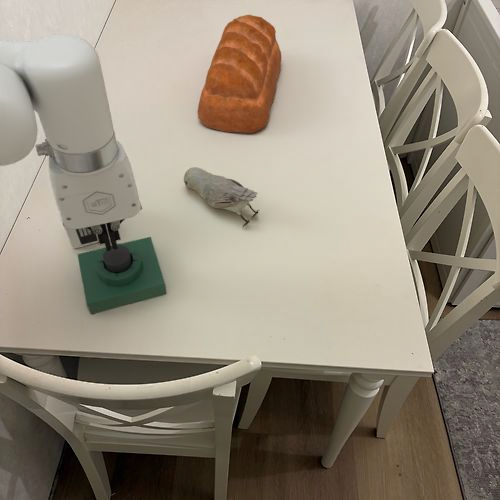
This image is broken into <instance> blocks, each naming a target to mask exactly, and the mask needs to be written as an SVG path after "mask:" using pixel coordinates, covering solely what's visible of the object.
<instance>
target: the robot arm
mask: <svg viewBox="0 0 500 500" xmlns="http://www.w3.org/2000/svg"><path fill="white" fill-rule="evenodd" d="M106 89H107V88H106V84H105V78H104V74H103V70H102V64H101V59H100V57H99V54H98V52H97V50H96V49H95V47H94V46H93V45H92V44H91V42H89V41H88V40H87V39H84V38H82V37H80V36H77V35H73V34H66V33H65V34H64V33H63V34H62V33H60V34H59V33H58V34H51V35H46V36H43V37H40V38H37V39H36V40H5V39H0V167H5V166H10V165H14V164H16V163H18V162H20V161H22V160H24V159H25V158H26V157H27V156H29V154H31V152H32V151H33V149H34V147H35V150H36V153H37V156H38V157H42V156H45V157H48V173H49V180H50V183H51V184H50V185H51V189H52V192H53V197H54V199H55V203H56V207H57V210H58V213H60V214H59V217H60V216H61V218H62V222H61V224H62V223H63V224H62V227H63V226H65V227H67V228H70V229H81V228H87V229H90V230H93V232H94V233H95V234H97V236H98V239H99V242H98V243H99V245H104V246H105V248H106V249H107V251H111V249H112V248H113V249H114V250H115V249H118V247H117V244H118V243H117V241H121V236H120V231H119V229H120V227H121V224H122V223H123V222H124V221H125V220H126V219H130V218H133V217H135V216H136V215H138V214H140V212H141V211H142V210H143V205H142V203H141V200H140V196H139V191H138V186H137V183H136V179H135V175H134V170H133V167H132V165H131V162H130V160H129V157H128V155H127V153H126V150H125V148H124V147H123V145H122V143H121V142H120V141H119V140H118V139H117V137H116V132H115V128H114V123H113V117H112V113H111V108H110V103H109V98H108V92H107V90H106ZM36 113H37V116H38V118H39V121H40V124H41V127H42V130H43V133H44V136H45V139H44V141H42V142H41V143H37V140H38V131H39V129H38V123H37V118H36ZM36 143H37V144H36ZM61 218H60V219H61ZM105 223H106V225H107V228H106V225H105ZM107 229H108V232H107ZM108 233H109V236H108ZM109 237H110V239H109ZM111 245H112V248H111Z"/></svg>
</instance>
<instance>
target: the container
mask: <svg viewBox="0 0 500 500" xmlns="http://www.w3.org/2000/svg"><path fill="white" fill-rule="evenodd" d="M58 213H59V212H58ZM58 215H59V218H60V222H61V225H62V227H63V230H64V231H65V234H66V237H67V239H68V241H69V244H70V247H71V248H72V249H78V248H82V247H85V246H90V245H93V244H98V243H99V239H98V236H97V234H95V233H94V232H93V230H90V229H87V228H81V229H70V228H67V227H65V226H63V223H62V218H61V216H60V213H59V214H58ZM105 225H106V223H105ZM106 228H107V225H106ZM107 232H108V229H107ZM108 236H109V233H108ZM109 240H110V237H109Z"/></svg>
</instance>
